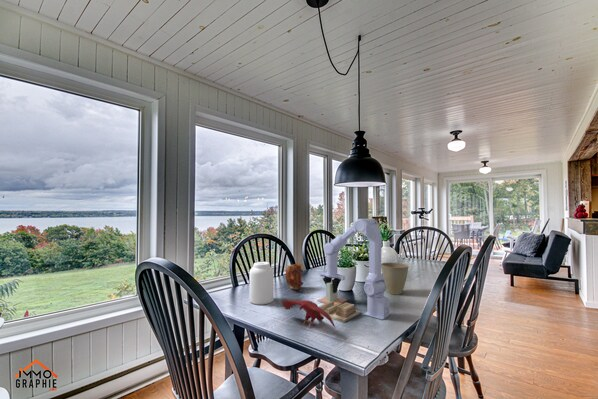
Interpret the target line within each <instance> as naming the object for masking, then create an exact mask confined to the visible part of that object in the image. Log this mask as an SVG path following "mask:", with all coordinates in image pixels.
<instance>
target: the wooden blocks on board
mask: <svg viewBox="0 0 598 399" xmlns="http://www.w3.org/2000/svg"><path fill="white" fill-rule="evenodd" d="M342 304H343V303H338V304H336V305H335V304H334V301H331V302H328V303H326V304H325V303H323V304H322V305H319V306H318V307H319V308H321V309H322V310H324V311H325V312H326V313H328V314H329V316H330V317H331V319H332V320H335V321H338V322H341V323H346V322H347V321H349V320H351V319H353V318H355V317H356V316H358V315H360V314H361V310H357V309H356V312H355V313H353V314H351V315H350V316H348V317H346V318H344V317H341V316H337V315H336V311H337V307H338V306H340V305H342ZM321 315H322V314H321ZM322 316H323V317H324V318H326V317H325V316H324V315H322Z"/></svg>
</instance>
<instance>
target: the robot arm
mask: <svg viewBox="0 0 598 399" xmlns="http://www.w3.org/2000/svg"><path fill="white" fill-rule="evenodd" d="M357 233H360V234H362V235H364V236H365V237H366V238H367V239H368V240H369V241H368V242H369V244H368V247H369V249H368V274H367V276H366V278H365V282H364V285H363V290H364V292H365V294H366V297H367V298H366V299H367V300H366V301H367V302H366V303H367V304H366V305H367V307H366V308H367V309H366V310H367V311H365V312H364V313H363V316H367V317H371V318H375V319H378V320H385V319H386V318H388V317H389V316H391V312H390V310H391V309H390V304H391V303H390V299H389V297H387V296H385V295H384V294H385V292H386V290H387V288H386V283H385V277H384V276H383V274H382V267H381V264H382V251H383V250H382V248H383V247H382V243H383V242H382V240H383V239H382V233H381V230H380V228H379V222H378V221H377V220H376V219H375V218H373V217H369V218H359V219H357V220H355V221H353V223H352V225H351V226H350V227H349V228H348V229H346V230H345V232H344V233H342V234H336V237H334V238H333V239H331V240H330V242H326V243H325V244H324V246H323V251H324V253H325V254H326V258H325V260H326V266H325V267H326V272H325V271H321V272H320V271H319V277H322V280H323V282H324V284H325V285H326V283H329V282H332V283H333V293H336V292H337V289H338V290H339V285H340V283H341V281H345V280H346V276H345V275H342V274H339V273H338V256H339V253H340V250H341V249H342V248H343V247H344V246H345V245H346V244H348V240H349V239H350V238H352V237H354V235H356V234H357Z"/></svg>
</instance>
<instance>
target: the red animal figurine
mask: <svg viewBox="0 0 598 399" xmlns="http://www.w3.org/2000/svg"><path fill="white" fill-rule="evenodd" d="M282 305H283V308H284V309H285V310H291V308H293V307H296V305H297V306H299V310H300V311H301V310H303V311H304V312H305V317H304V318H305V319H304V322H302V323H301V324H303V325H305V323H306V321H308V320H310V322H309V324H308V325H306V326H308V327H310V325H311V324H312V323H314V321H315V320H318V321H320V322H323V320H324V319H327V320H328V321H329V322H330V324H331V325H332V326H333V327H334V328H336V326H335V324H334V323H335V322H334V321H333V319H331V317H330V316H329V314H328V313H326V312H325V311H324V310H322V309H321V308H319V306H318V304H316V303H315V302H314V301H311V300H306V299H305V300H293V299H286V300H282ZM321 314H322V315H324V316H325V317H324V316H322V315H321Z"/></svg>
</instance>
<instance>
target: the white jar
mask: <svg viewBox="0 0 598 399" xmlns="http://www.w3.org/2000/svg"><path fill="white" fill-rule="evenodd" d="M274 273H275V272H274V269H273V267H271V264H270V262H268V261H257V262H254V263H253V266H252V267H251V268H250V269H249V301H250V303H251V304H253V305H269V304H271V303H272V302H273V301H274V300H275V299H274V298H275V297H274V295H275V293H274V290H275V289H274V286H275V284H274V282H275V280H274V279H275V278H274V277H275V274H274Z"/></svg>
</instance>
